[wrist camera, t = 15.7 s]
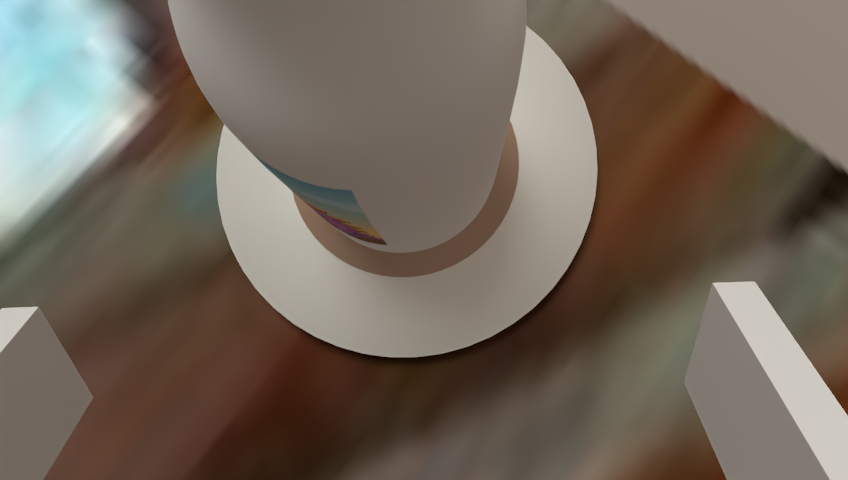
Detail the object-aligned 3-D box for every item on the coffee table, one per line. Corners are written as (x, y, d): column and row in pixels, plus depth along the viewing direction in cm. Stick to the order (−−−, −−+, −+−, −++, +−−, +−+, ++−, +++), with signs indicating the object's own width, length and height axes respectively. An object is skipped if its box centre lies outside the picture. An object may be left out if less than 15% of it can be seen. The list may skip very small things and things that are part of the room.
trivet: (157, 223, 26) (141, 217, 24) (360, -57, 27) (355, -76, 26) (458, 433, 24) (458, 439, 22) (660, 116, 25) (671, 105, 24)
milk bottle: (469, 56, 25) (524, -1031, 5) (517, 229, 23) (845, -312, 4) (294, 101, 25) (-331, -788, 5) (333, 276, 24) (-303, -10, 4)
